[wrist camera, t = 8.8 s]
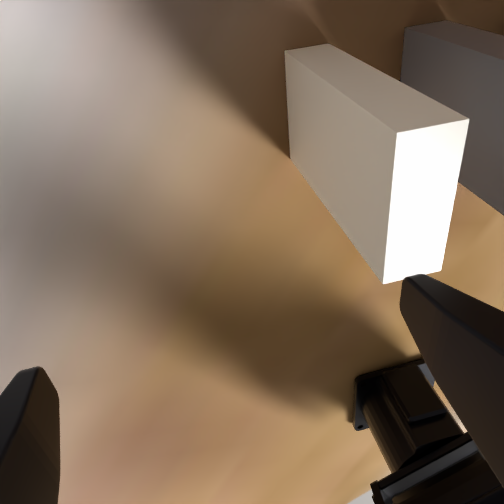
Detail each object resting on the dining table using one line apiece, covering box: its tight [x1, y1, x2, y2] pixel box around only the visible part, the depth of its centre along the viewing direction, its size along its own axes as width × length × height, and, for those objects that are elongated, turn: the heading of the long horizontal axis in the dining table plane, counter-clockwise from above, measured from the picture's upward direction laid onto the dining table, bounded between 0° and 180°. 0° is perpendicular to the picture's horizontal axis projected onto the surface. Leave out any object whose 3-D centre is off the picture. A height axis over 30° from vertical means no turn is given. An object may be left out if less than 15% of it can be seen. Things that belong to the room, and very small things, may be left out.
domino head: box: [284, 43, 469, 284], centre depth 17 cm, size 2×5×10 cm, turn 6°
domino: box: [400, 20, 504, 215], centre depth 18 cm, size 2×5×10 cm, turn 6°
